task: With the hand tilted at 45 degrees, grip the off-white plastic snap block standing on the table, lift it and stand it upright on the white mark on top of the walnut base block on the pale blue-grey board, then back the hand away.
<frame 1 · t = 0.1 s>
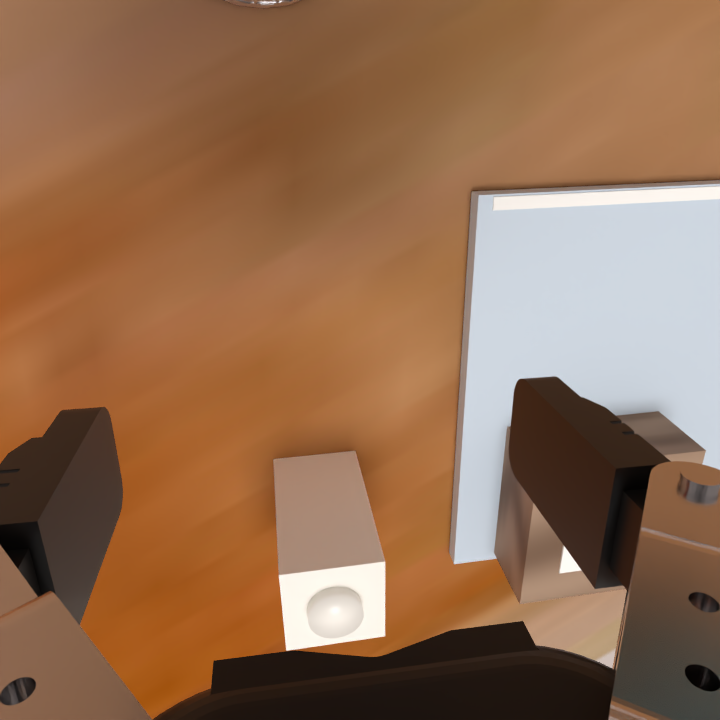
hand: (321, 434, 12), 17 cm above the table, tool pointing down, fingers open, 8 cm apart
snap block: (316, 488, 34), on the table
build board: (628, 382, 34), on the table
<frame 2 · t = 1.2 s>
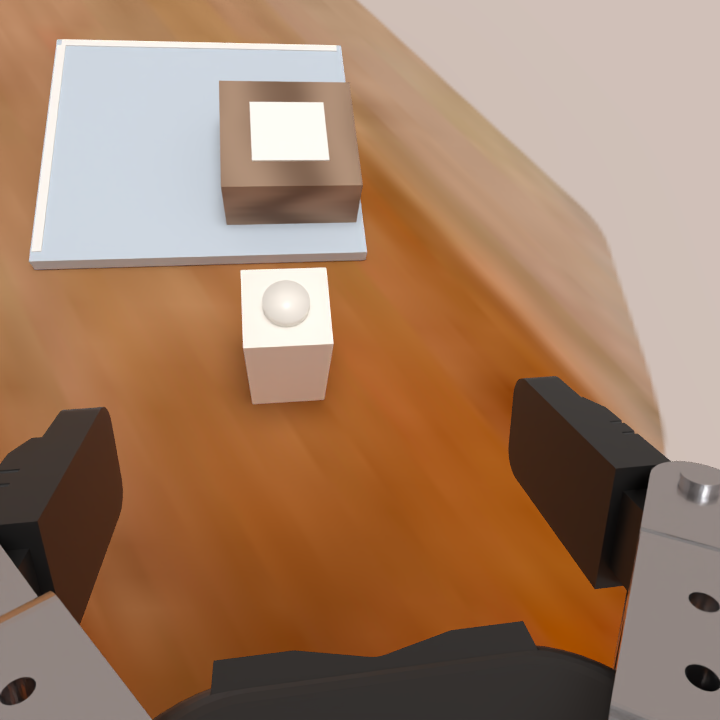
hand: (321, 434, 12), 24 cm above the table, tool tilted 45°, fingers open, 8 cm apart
snap block: (286, 369, 39), on the table
build board: (205, 150, 45), on the table
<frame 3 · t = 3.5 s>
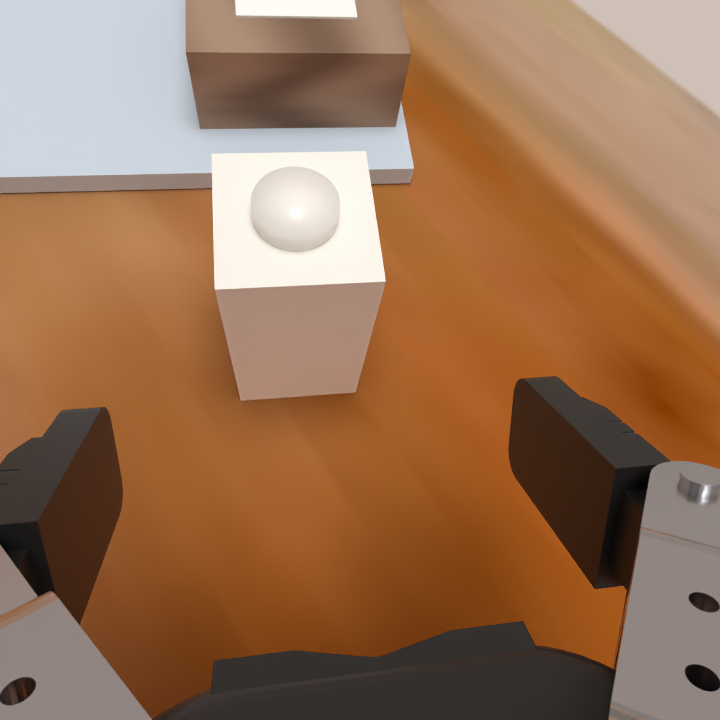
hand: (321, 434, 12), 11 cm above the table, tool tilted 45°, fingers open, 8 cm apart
snap block: (294, 344, 24), on the table
build board: (171, 31, 31), on the table
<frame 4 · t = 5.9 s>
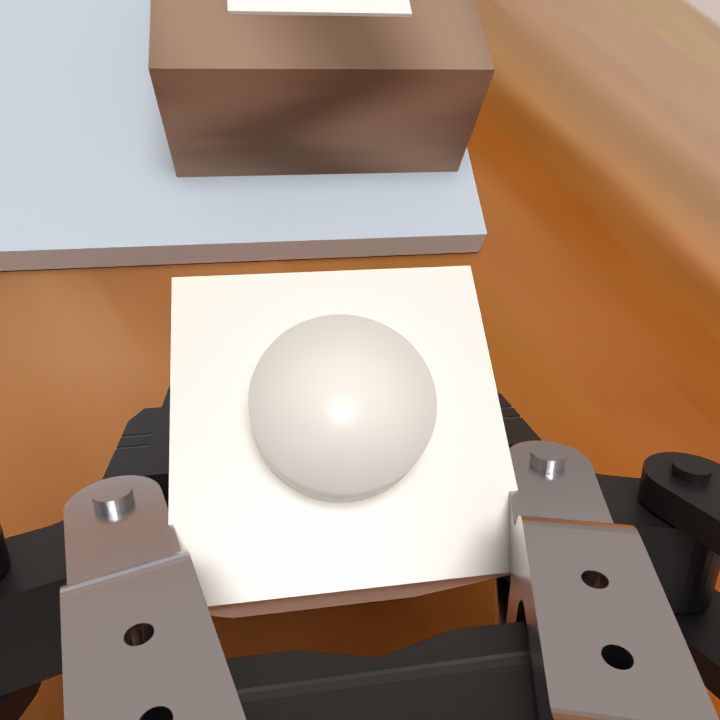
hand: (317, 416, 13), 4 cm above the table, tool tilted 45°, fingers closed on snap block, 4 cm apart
snap block: (317, 516, 16), on the table, touching gripper
build board: (141, 35, 22), on the table
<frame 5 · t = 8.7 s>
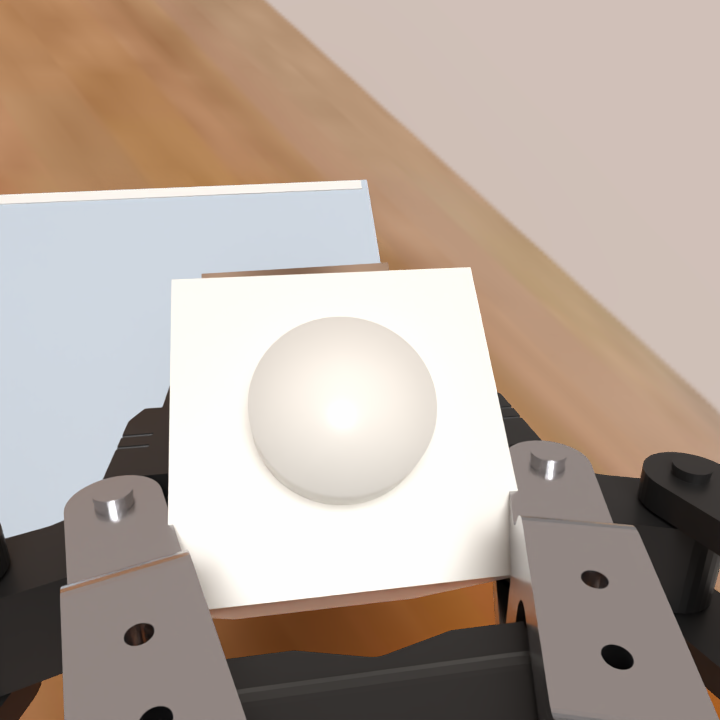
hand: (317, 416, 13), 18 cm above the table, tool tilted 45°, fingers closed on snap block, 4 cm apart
snap block: (317, 517, 16), point 14 cm above the table, touching gripper
build board: (187, 348, 32), on the table
when the fingers open (10 cm above the table, at t = 11.6 s): snap block stays where it is, resting on build board.
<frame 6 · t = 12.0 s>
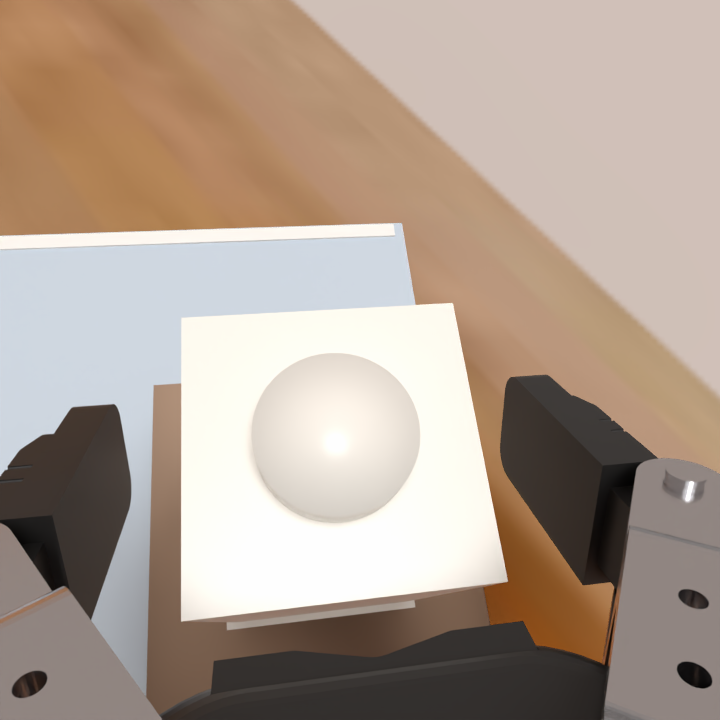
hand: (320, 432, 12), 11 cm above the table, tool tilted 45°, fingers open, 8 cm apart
snap block: (315, 525, 17), point 5 cm above the table, touching build board
build board: (139, 476, 22), on the table
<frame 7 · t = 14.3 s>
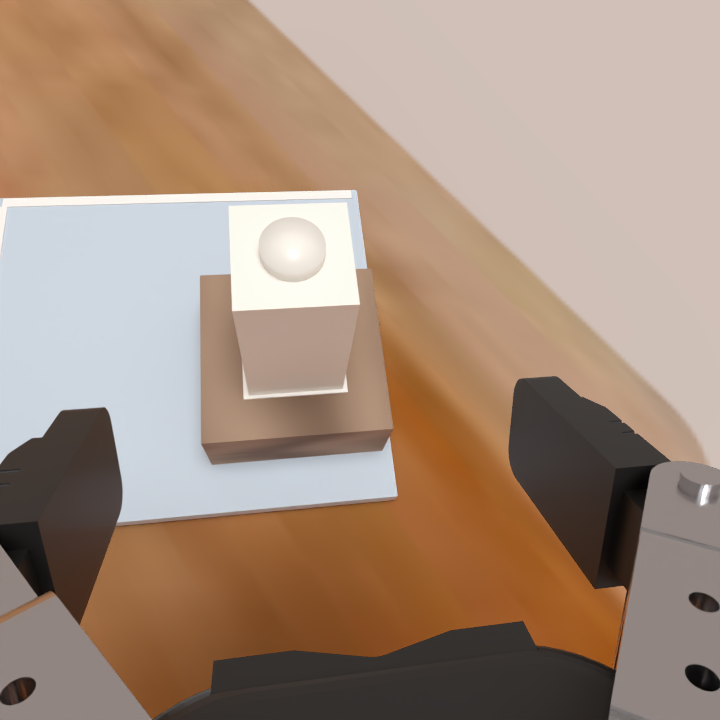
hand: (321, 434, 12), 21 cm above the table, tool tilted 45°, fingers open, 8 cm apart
snap block: (293, 349, 30), point 5 cm above the table, touching build board
build board: (185, 344, 35), on the table
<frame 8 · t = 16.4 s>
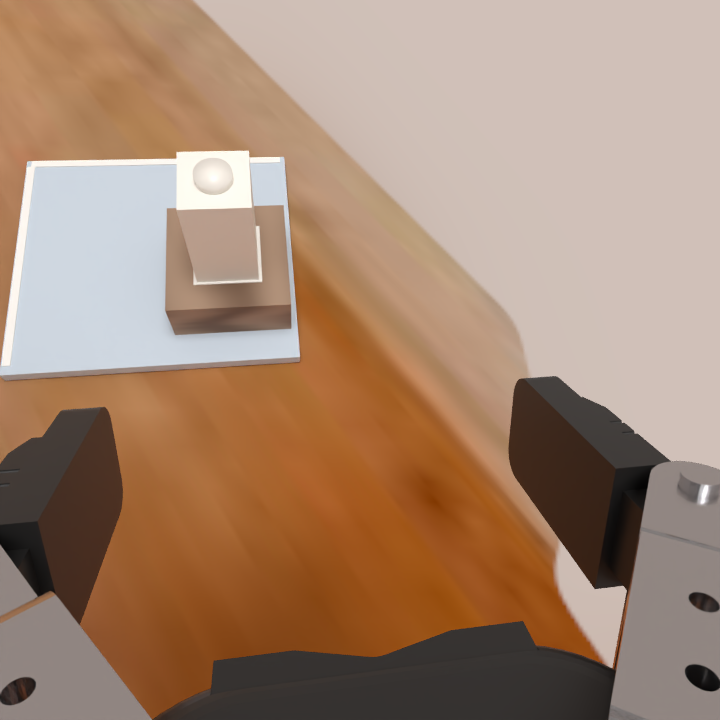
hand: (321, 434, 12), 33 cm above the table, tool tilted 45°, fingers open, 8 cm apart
snap block: (227, 255, 45), point 5 cm above the table, touching build board
build board: (159, 261, 50), on the table
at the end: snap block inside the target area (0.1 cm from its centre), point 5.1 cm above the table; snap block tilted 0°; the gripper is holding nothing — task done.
